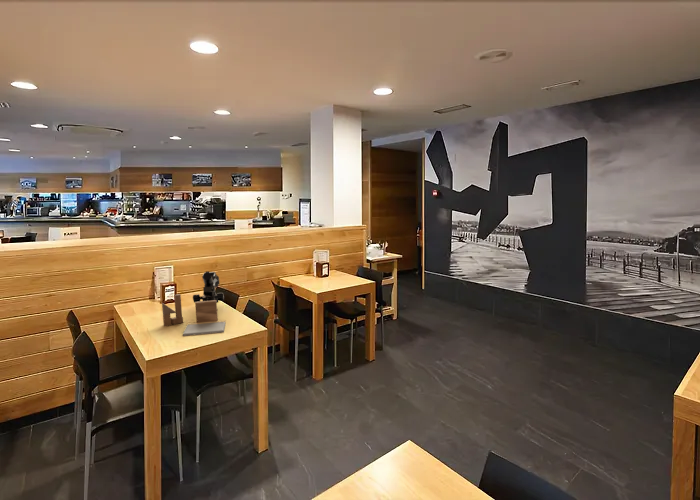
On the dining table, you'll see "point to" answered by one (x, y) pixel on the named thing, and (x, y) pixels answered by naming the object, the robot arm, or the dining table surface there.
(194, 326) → the slate floor board
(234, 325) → the dining table surface
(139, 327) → the dining table surface
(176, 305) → the wooden block
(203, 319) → the walnut plank
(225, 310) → the dining table surface
